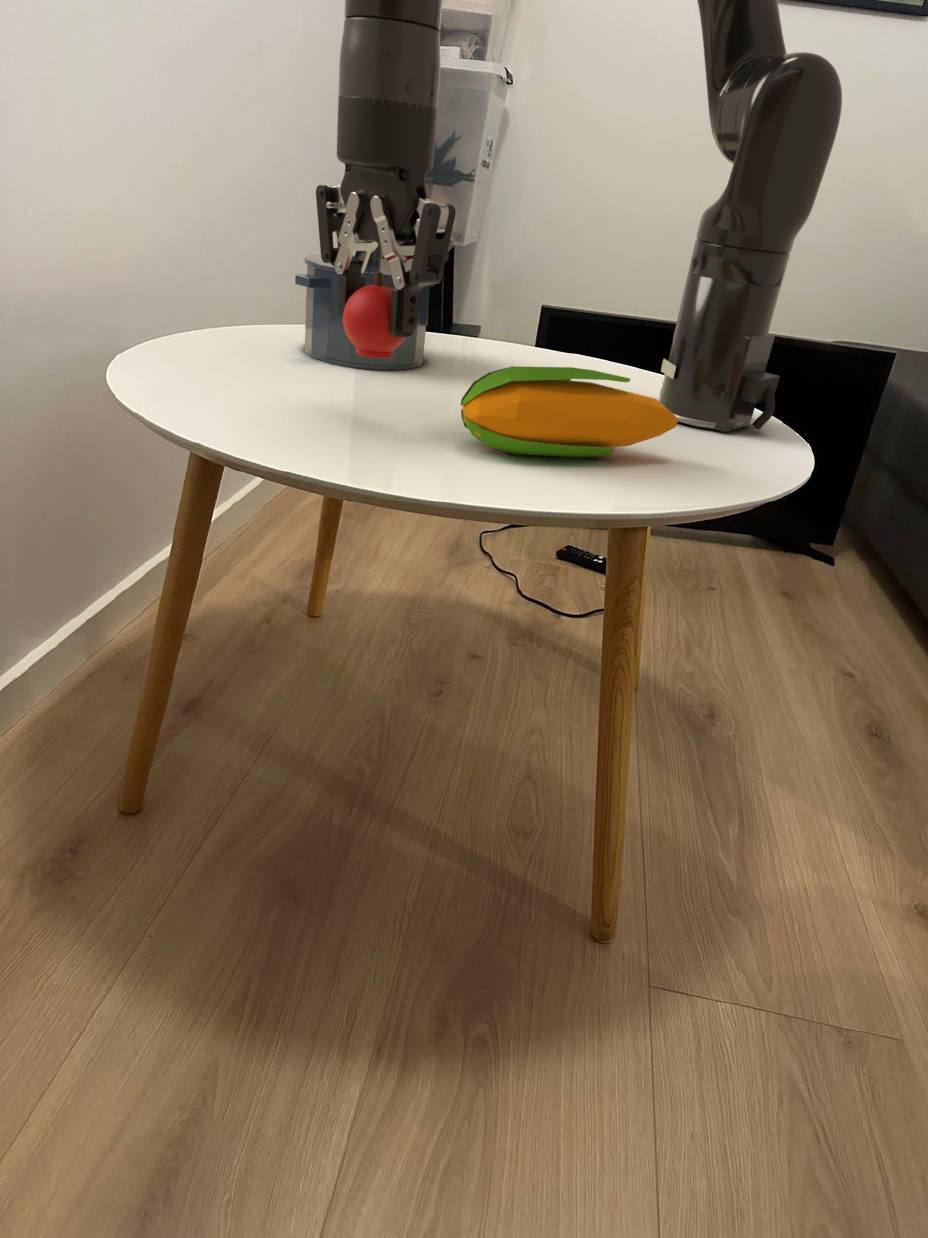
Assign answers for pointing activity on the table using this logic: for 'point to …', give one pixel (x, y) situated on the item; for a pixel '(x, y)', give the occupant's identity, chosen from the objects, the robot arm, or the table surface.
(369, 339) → the apple
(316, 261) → the pot lid
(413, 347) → the pot
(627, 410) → the corn
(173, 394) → the table surface
